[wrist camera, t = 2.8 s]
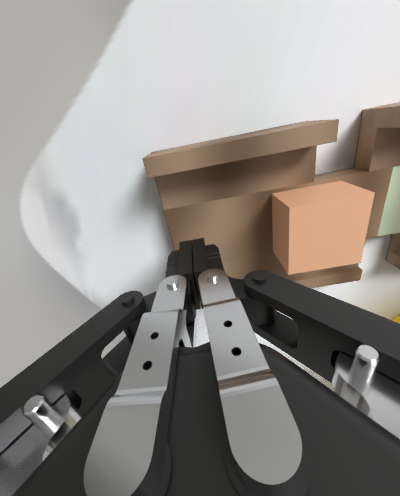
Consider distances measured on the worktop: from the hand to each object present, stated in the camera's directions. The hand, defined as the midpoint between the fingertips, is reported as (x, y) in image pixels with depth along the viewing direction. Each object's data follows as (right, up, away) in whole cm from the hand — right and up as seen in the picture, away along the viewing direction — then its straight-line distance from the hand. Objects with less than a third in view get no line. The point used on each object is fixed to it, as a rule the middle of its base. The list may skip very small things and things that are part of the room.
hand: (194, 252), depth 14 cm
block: (+8, +2, +2) cm, 8 cm away
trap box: (+8, +3, +3) cm, 9 cm away
